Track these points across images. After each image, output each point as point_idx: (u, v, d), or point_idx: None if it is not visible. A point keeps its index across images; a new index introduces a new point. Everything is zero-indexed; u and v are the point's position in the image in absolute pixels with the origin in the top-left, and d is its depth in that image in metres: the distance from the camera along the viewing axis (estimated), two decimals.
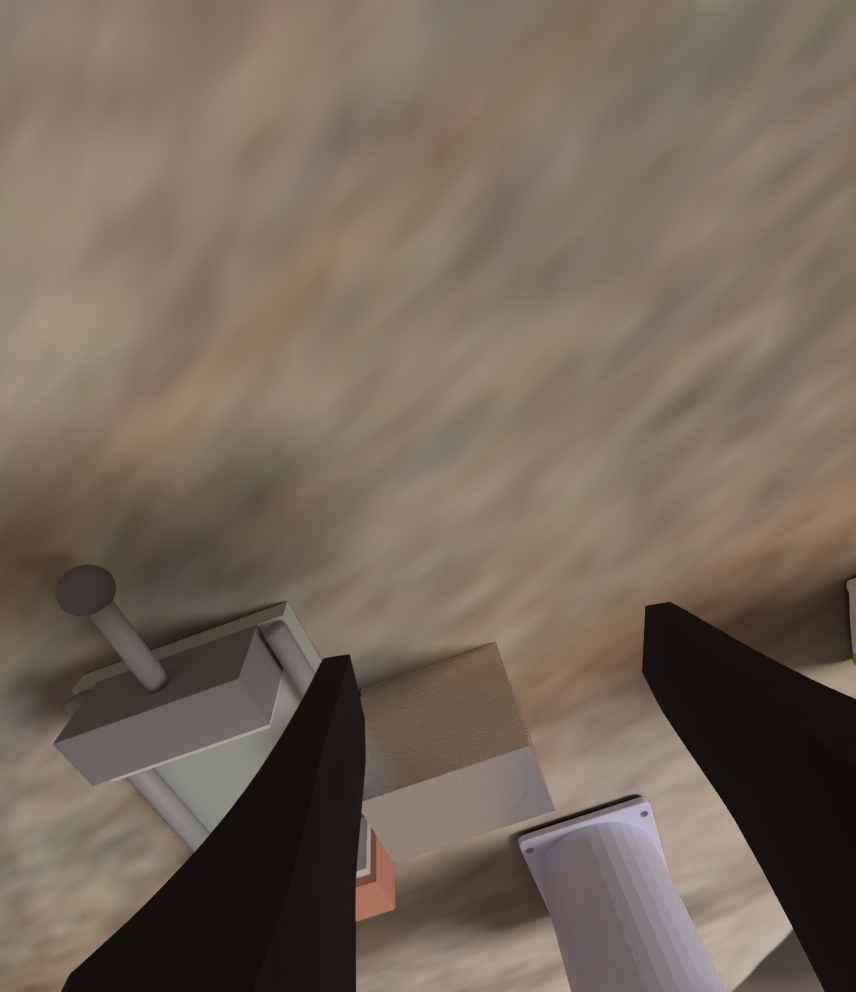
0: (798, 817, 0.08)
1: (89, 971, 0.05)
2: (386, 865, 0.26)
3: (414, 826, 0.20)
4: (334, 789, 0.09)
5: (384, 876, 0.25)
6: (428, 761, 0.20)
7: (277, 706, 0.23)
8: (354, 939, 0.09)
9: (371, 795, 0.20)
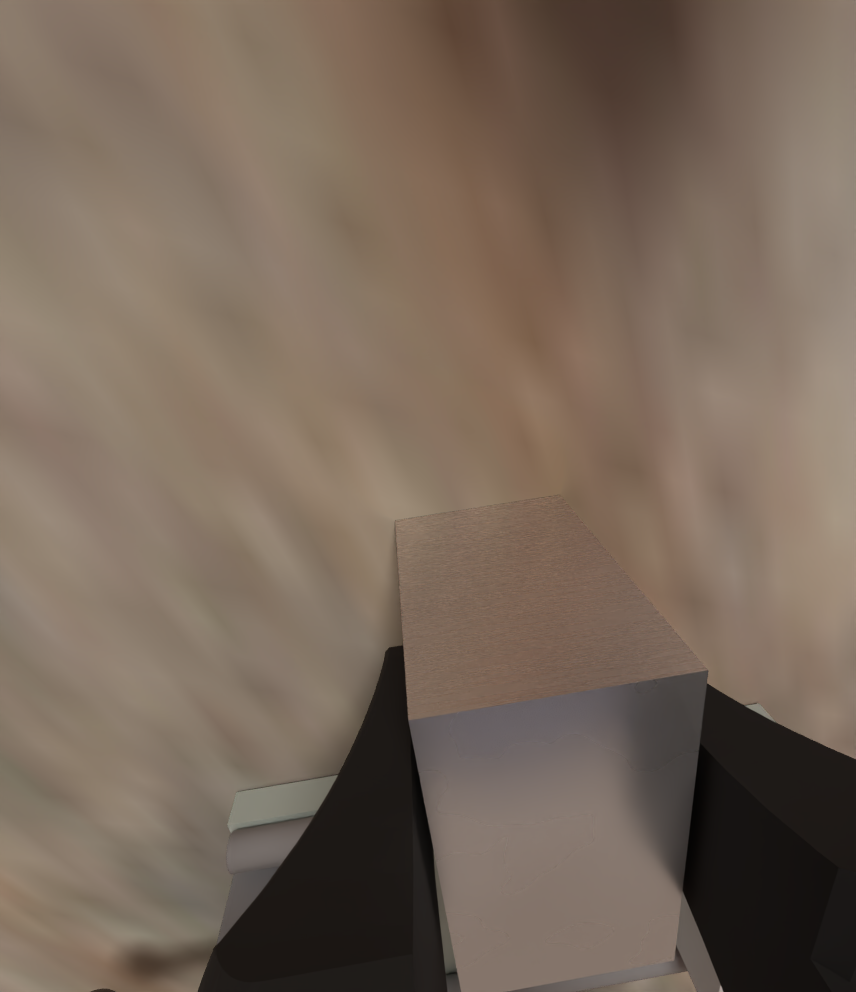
0: (703, 834, 0.08)
1: (234, 945, 0.05)
2: None
3: (583, 930, 0.09)
4: (418, 775, 0.09)
5: None
6: None
7: None
8: None
9: None
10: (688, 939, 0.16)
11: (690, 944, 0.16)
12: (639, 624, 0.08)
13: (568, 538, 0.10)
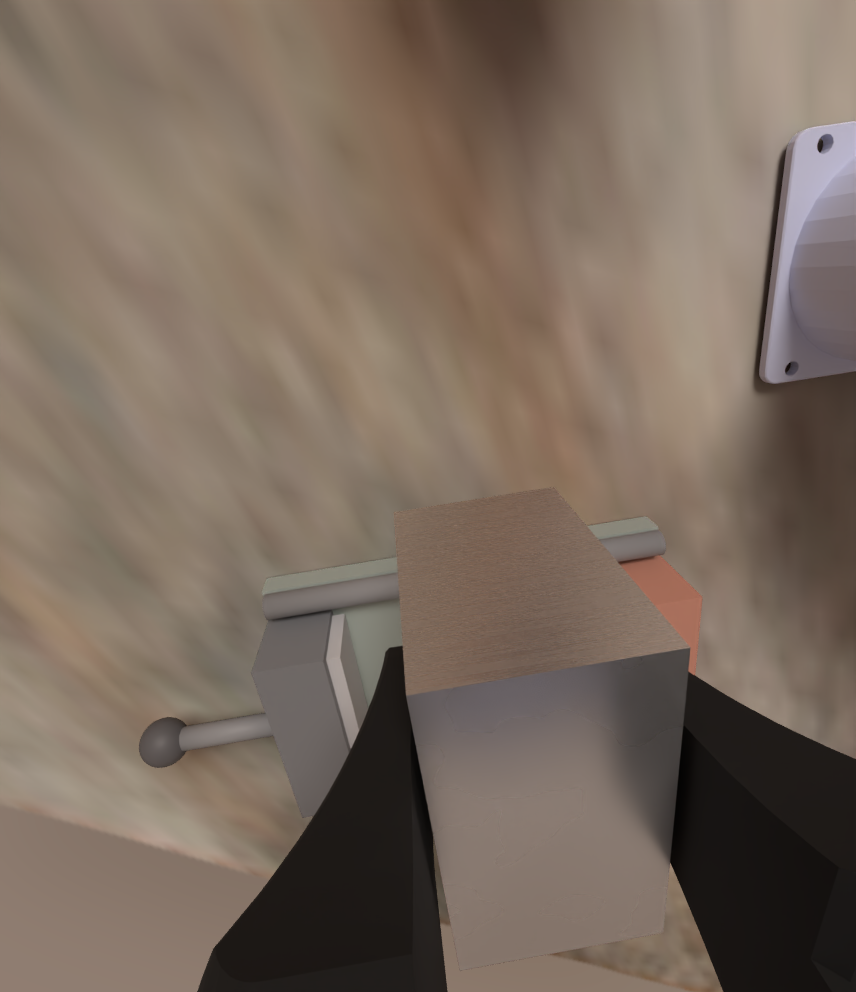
0: (703, 834, 0.08)
1: (234, 945, 0.05)
2: (651, 580, 0.19)
3: (574, 901, 0.09)
4: (418, 775, 0.09)
5: (653, 591, 0.19)
6: None
7: (384, 623, 0.21)
8: (439, 924, 0.09)
9: None
10: None
11: None
12: (626, 606, 0.08)
13: (561, 527, 0.11)
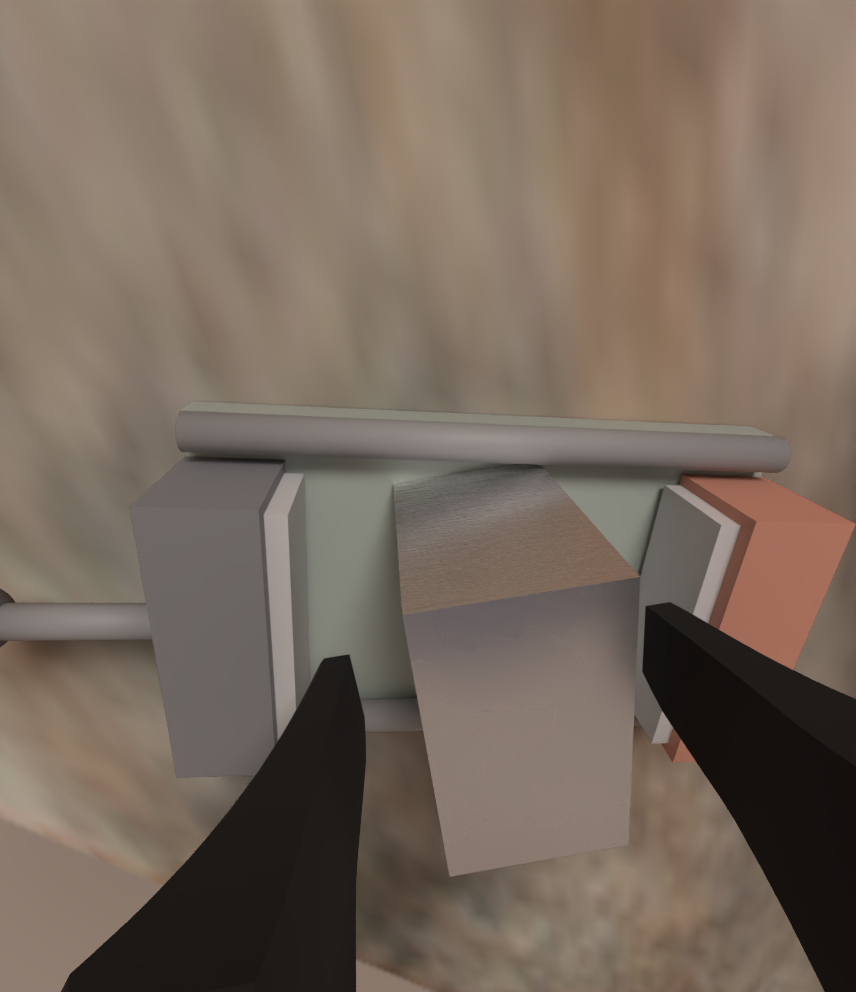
0: (798, 817, 0.08)
1: (89, 971, 0.05)
2: (768, 498, 0.13)
3: (549, 812, 0.11)
4: (334, 789, 0.09)
5: (777, 508, 0.12)
6: None
7: (360, 505, 0.14)
8: (354, 939, 0.09)
9: None
10: (638, 666, 0.15)
11: (640, 670, 0.15)
12: (591, 549, 0.09)
13: (541, 491, 0.12)
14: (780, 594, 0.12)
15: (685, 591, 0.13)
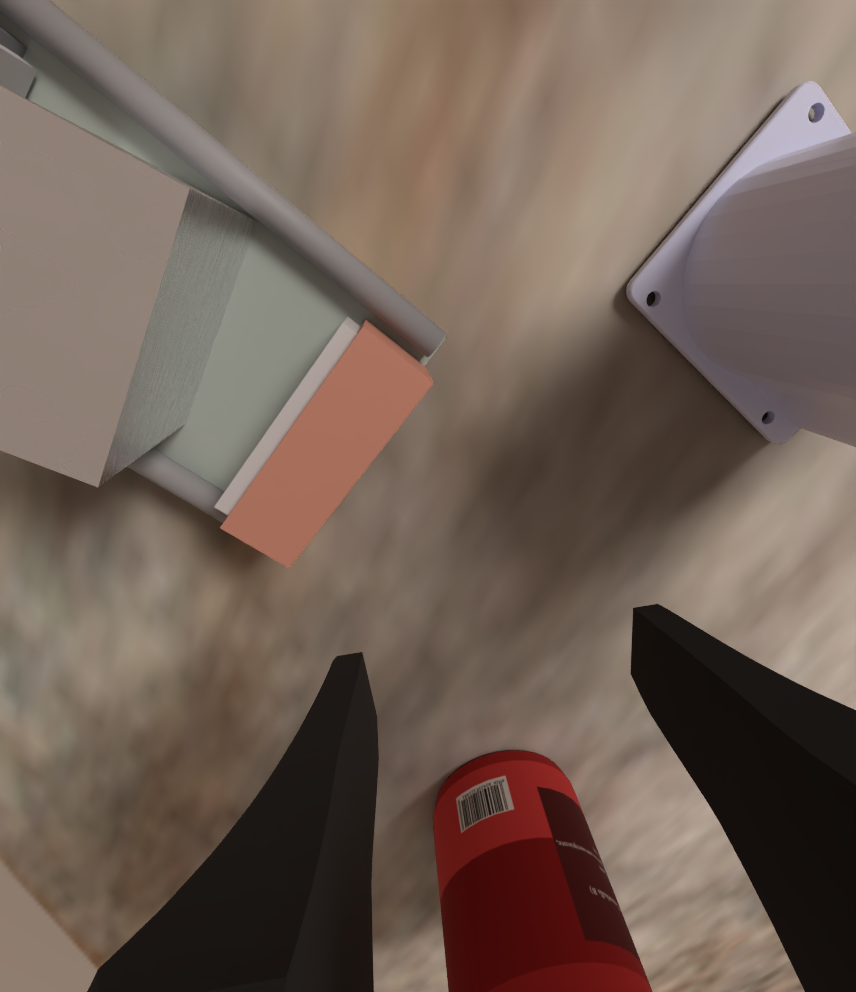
0: (780, 820, 0.08)
1: (118, 966, 0.05)
2: (401, 352, 0.16)
3: (34, 397, 0.11)
4: (350, 786, 0.09)
5: (394, 348, 0.15)
6: None
7: None
8: (371, 936, 0.09)
9: None
10: None
11: None
12: (187, 186, 0.11)
13: (220, 202, 0.13)
14: (360, 410, 0.15)
15: None
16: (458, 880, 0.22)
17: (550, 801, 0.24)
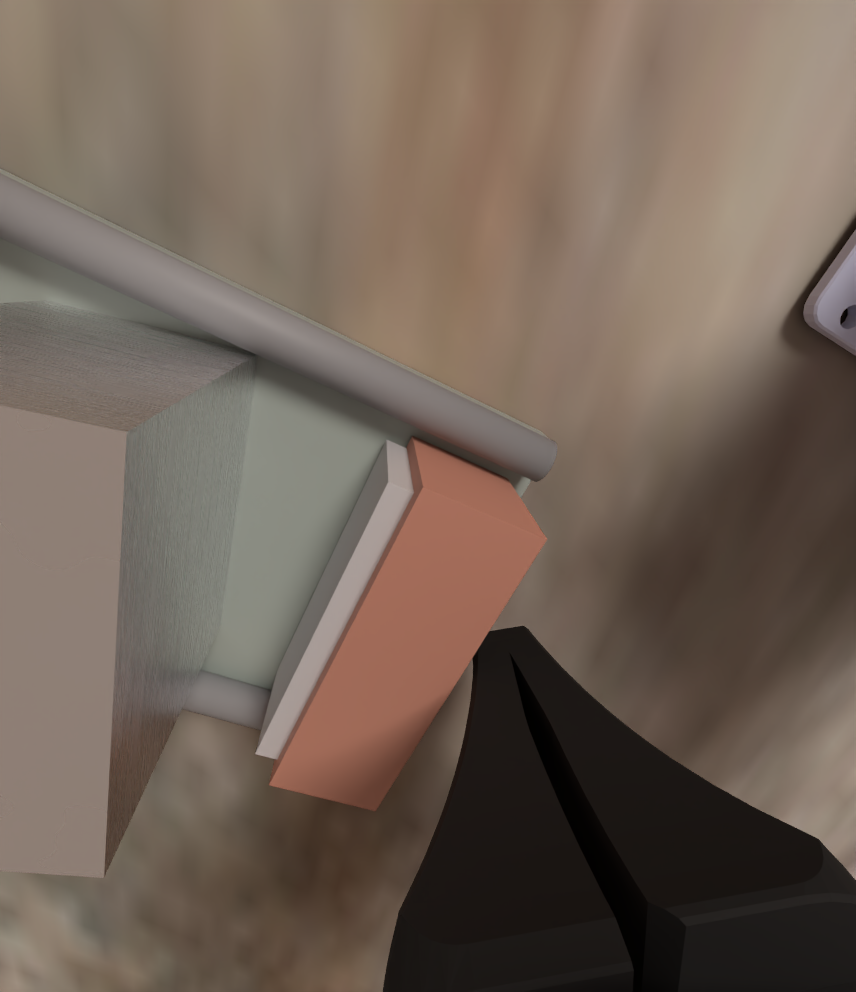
0: None
1: (421, 911, 0.05)
2: (479, 486, 0.10)
3: None
4: None
5: (472, 493, 0.10)
6: None
7: None
8: None
9: None
10: (290, 657, 0.12)
11: (289, 661, 0.12)
12: (131, 399, 0.06)
13: (200, 361, 0.09)
14: (439, 601, 0.09)
15: (342, 565, 0.10)
16: None
17: None
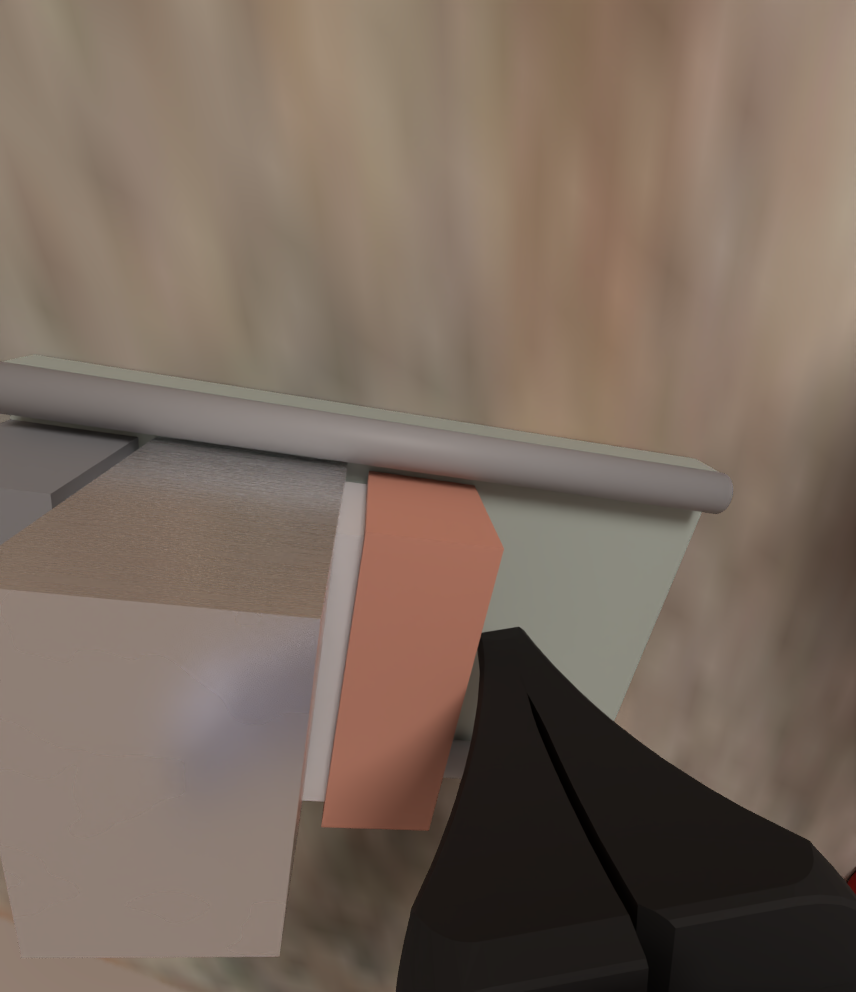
0: None
1: (434, 910, 0.05)
2: (435, 508, 0.10)
3: (171, 899, 0.08)
4: None
5: (424, 520, 0.10)
6: None
7: None
8: None
9: None
10: None
11: None
12: (298, 568, 0.07)
13: (314, 489, 0.10)
14: (419, 630, 0.10)
15: None
16: None
17: None
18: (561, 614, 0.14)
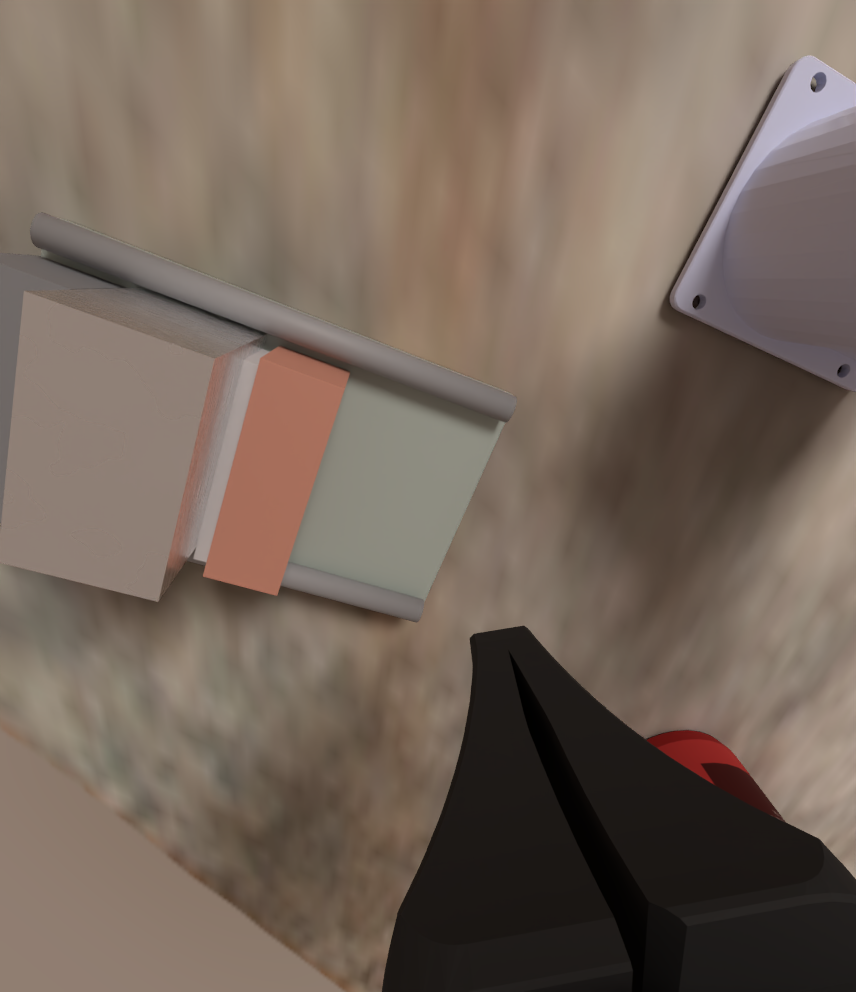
0: None
1: (421, 912, 0.05)
2: (314, 367, 0.16)
3: (99, 536, 0.13)
4: None
5: (302, 367, 0.15)
6: None
7: None
8: None
9: None
10: None
11: None
12: (211, 346, 0.13)
13: (236, 334, 0.15)
14: (286, 435, 0.15)
15: None
16: None
17: (718, 775, 0.25)
18: (402, 483, 0.20)
